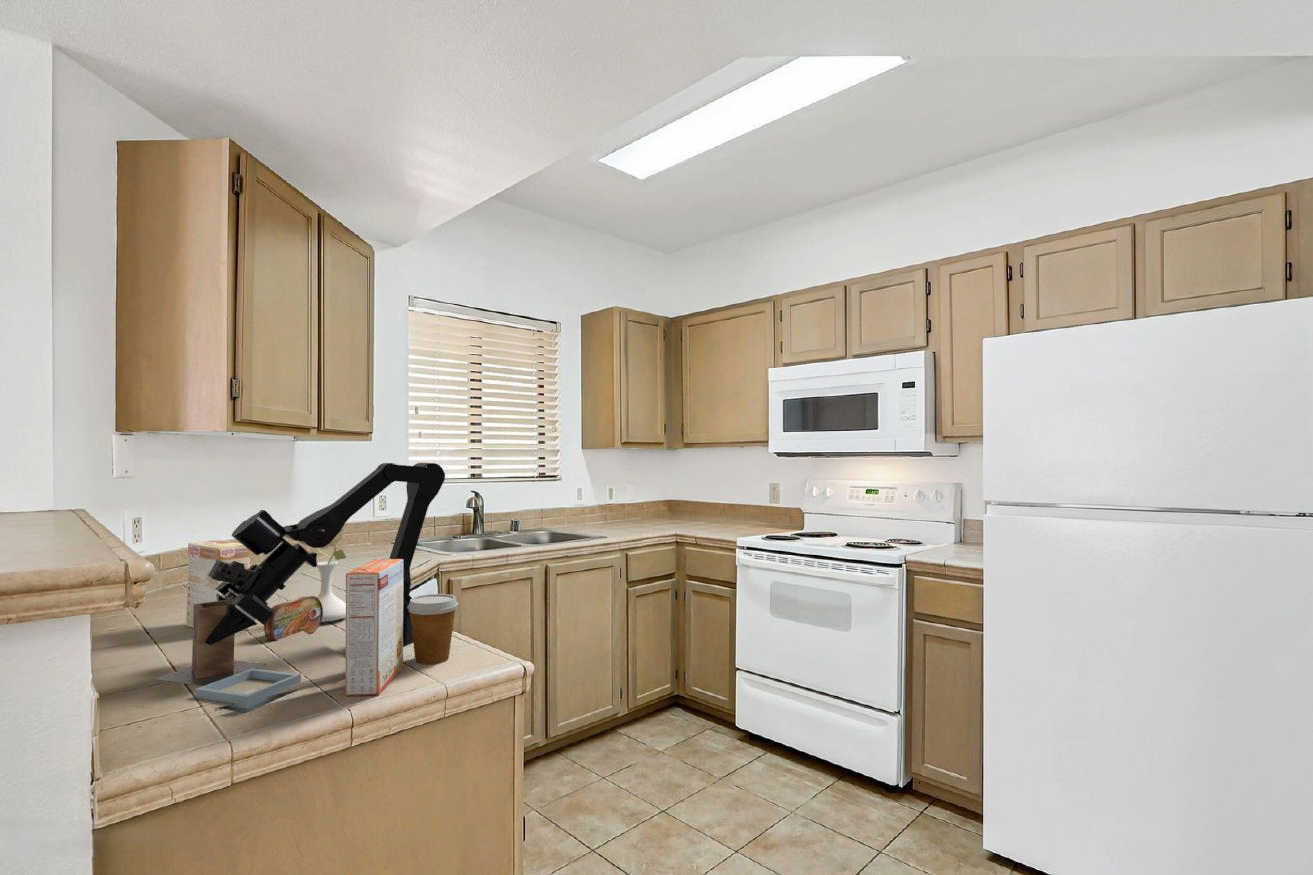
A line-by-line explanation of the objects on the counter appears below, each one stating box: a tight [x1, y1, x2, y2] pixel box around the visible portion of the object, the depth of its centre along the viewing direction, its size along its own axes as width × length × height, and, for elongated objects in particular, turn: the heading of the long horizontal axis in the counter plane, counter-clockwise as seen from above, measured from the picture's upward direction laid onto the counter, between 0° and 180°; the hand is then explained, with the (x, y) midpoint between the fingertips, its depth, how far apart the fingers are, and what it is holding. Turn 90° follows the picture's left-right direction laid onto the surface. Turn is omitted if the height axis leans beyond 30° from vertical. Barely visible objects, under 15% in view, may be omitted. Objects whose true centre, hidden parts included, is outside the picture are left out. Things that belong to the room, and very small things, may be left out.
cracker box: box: [344, 558, 404, 697], centre depth 116 cm, size 14×6×21 cm, turn 5°
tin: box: [263, 595, 323, 641], centre depth 143 cm, size 15×3×8 cm, turn 168°
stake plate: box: [154, 659, 268, 687], centre depth 117 cm, size 12×12×5 cm
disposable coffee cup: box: [407, 593, 459, 665], centre depth 129 cm, size 10×10×12 cm
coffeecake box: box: [185, 539, 251, 631], centre depth 150 cm, size 15×7×20 cm, turn 58°
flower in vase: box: [316, 524, 347, 623], centre depth 158 cm, size 13×11×25 cm
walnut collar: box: [191, 600, 236, 679], centre depth 117 cm, size 5×5×12 cm
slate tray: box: [194, 668, 302, 713], centre depth 108 cm, size 11×11×2 cm
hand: (204, 639), depth 116 cm, fingers closed on walnut collar, 5 cm apart
